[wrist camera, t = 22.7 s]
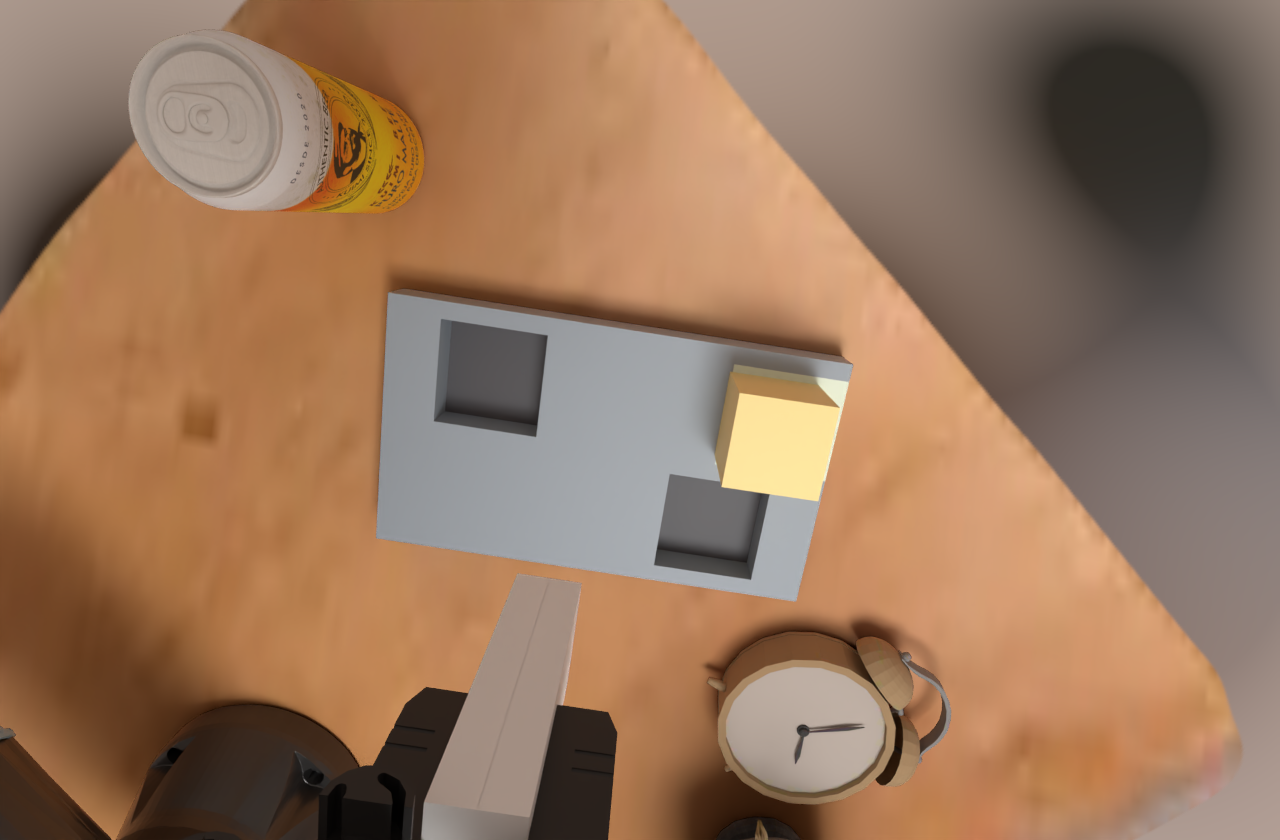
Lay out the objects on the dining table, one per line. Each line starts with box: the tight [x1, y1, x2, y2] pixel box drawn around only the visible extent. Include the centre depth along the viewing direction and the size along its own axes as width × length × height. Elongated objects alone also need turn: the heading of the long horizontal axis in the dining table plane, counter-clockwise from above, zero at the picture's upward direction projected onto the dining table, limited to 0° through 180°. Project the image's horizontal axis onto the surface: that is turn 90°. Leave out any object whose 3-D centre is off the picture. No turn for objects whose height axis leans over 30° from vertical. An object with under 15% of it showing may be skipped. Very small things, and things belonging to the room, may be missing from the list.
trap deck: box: [376, 288, 853, 601], centre depth 42 cm, size 26×15×2 cm, turn 81°
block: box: [715, 372, 840, 501], centre depth 37 cm, size 5×5×5 cm
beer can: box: [128, 30, 424, 213], centre depth 31 cm, size 6×6×15 cm
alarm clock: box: [707, 632, 951, 805], centre depth 46 cm, size 11×5×15 cm
